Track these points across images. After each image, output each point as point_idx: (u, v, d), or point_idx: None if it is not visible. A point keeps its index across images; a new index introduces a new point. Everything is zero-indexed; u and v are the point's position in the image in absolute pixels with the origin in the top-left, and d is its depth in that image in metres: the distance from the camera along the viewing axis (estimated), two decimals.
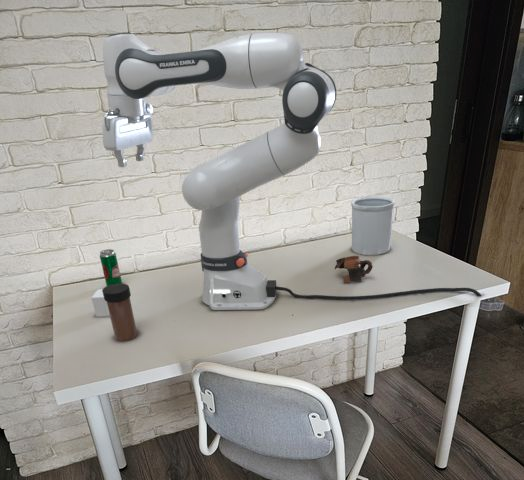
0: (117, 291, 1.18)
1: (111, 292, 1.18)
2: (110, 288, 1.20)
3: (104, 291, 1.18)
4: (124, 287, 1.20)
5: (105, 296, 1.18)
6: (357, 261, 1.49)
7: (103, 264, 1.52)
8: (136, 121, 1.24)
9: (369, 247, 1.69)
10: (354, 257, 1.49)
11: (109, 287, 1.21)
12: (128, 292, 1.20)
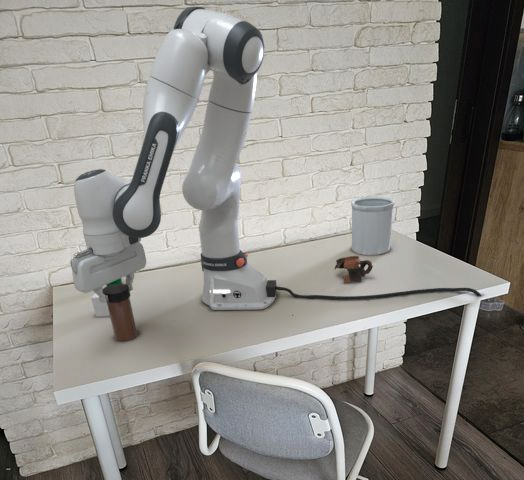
0: (117, 291, 1.18)
1: (111, 292, 1.18)
2: (110, 288, 1.20)
3: (104, 291, 1.18)
4: (124, 287, 1.20)
5: None
6: (357, 261, 1.49)
7: None
8: (114, 257, 1.13)
9: (369, 247, 1.69)
10: (354, 257, 1.49)
11: (109, 287, 1.21)
12: (128, 292, 1.20)
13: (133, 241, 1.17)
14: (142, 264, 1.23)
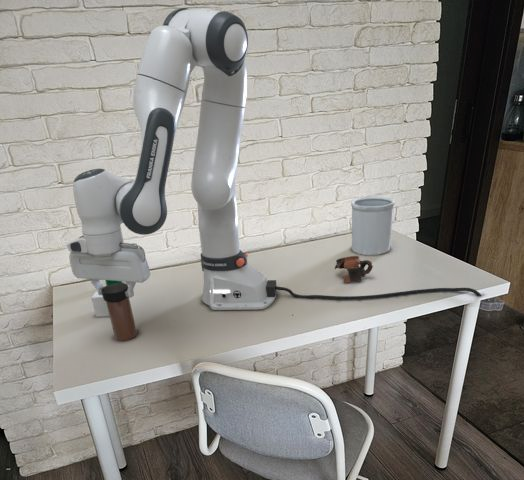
0: (122, 285, 1.21)
1: (124, 287, 1.20)
2: (113, 290, 1.18)
3: (121, 290, 1.18)
4: (113, 285, 1.22)
5: None
6: (357, 261, 1.49)
7: None
8: None
9: (369, 247, 1.69)
10: (354, 257, 1.49)
11: (110, 291, 1.18)
12: None
13: None
14: None
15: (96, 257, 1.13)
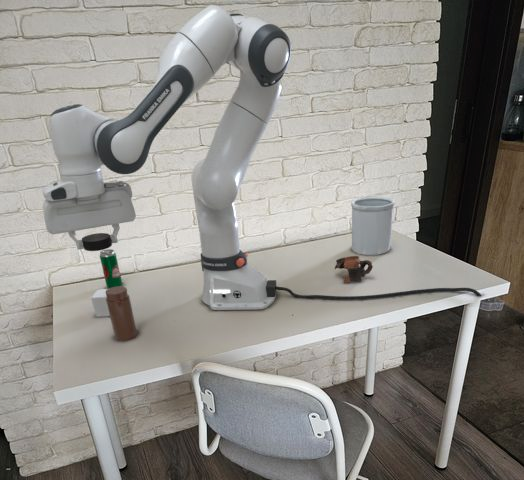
0: (99, 234, 1.16)
1: (104, 234, 1.15)
2: (99, 238, 1.13)
3: (107, 236, 1.14)
4: (88, 236, 1.15)
5: (110, 238, 1.15)
6: (357, 261, 1.49)
7: (103, 264, 1.52)
8: None
9: (369, 247, 1.69)
10: (354, 257, 1.49)
11: (98, 239, 1.12)
12: None
13: None
14: None
15: (84, 201, 1.07)
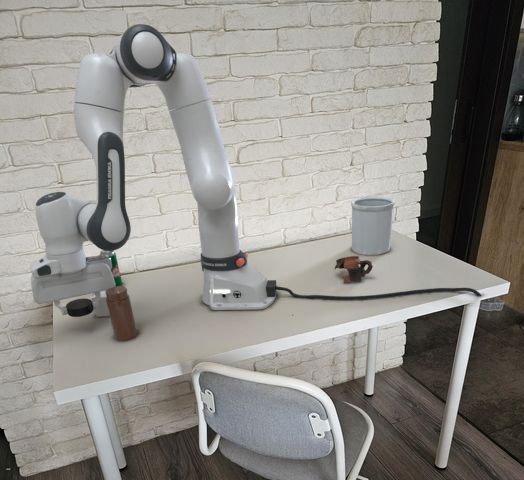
0: (82, 300, 1.27)
1: (87, 300, 1.27)
2: (81, 304, 1.25)
3: (89, 303, 1.26)
4: (72, 302, 1.26)
5: (92, 304, 1.27)
6: (357, 261, 1.49)
7: None
8: None
9: (369, 247, 1.69)
10: (354, 257, 1.49)
11: (80, 306, 1.24)
12: None
13: None
14: None
15: (67, 275, 1.18)
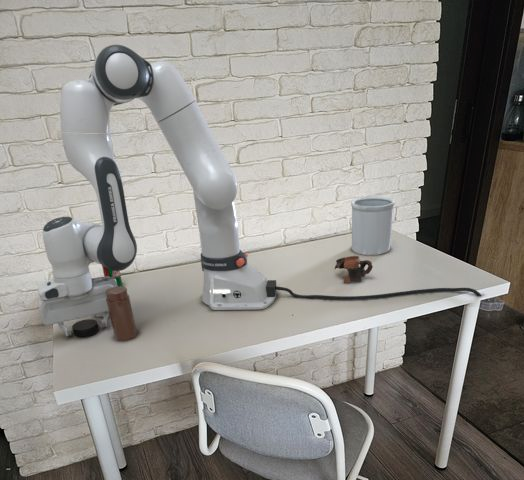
0: (87, 320, 1.30)
1: (92, 321, 1.30)
2: (87, 325, 1.28)
3: (95, 323, 1.29)
4: (78, 323, 1.29)
5: (97, 325, 1.30)
6: (357, 261, 1.49)
7: None
8: None
9: (369, 247, 1.69)
10: (354, 257, 1.49)
11: (86, 327, 1.27)
12: None
13: None
14: None
15: (74, 297, 1.21)
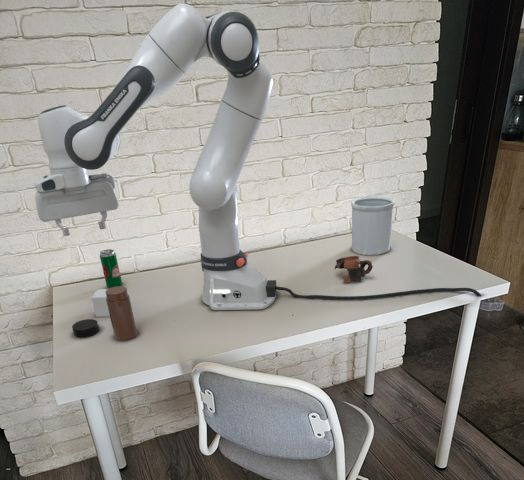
0: (87, 320, 1.30)
1: (92, 321, 1.30)
2: (87, 325, 1.28)
3: (95, 323, 1.29)
4: (78, 323, 1.29)
5: (97, 325, 1.30)
6: (357, 261, 1.49)
7: (103, 264, 1.52)
8: None
9: (369, 247, 1.69)
10: (354, 257, 1.49)
11: (86, 327, 1.27)
12: None
13: None
14: None
15: (71, 192, 1.20)
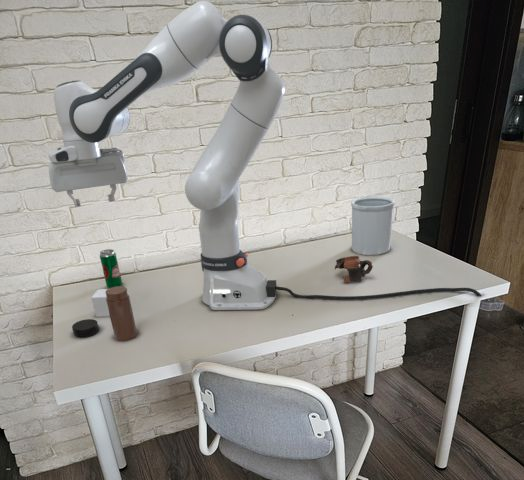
0: (87, 320, 1.30)
1: (92, 321, 1.30)
2: (87, 325, 1.28)
3: (95, 323, 1.29)
4: (78, 323, 1.29)
5: (97, 325, 1.30)
6: (357, 261, 1.49)
7: (103, 264, 1.52)
8: None
9: (369, 247, 1.69)
10: (354, 257, 1.49)
11: (86, 327, 1.27)
12: None
13: None
14: None
15: (83, 164, 1.26)
